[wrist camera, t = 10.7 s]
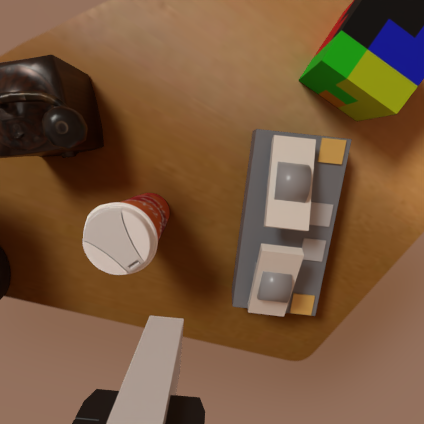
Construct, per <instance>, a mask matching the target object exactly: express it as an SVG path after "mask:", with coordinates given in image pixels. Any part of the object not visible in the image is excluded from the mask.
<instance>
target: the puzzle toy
mask: <svg viewBox="0 0 424 424" xmlns="http://www.w3.org/2000/svg"><path fill="white" fill-rule="evenodd" d="M423 79H424V0H354V1H353V2H352V3H351V4H350V5H349V6H348V8H347V9H346V10H345V11H344V12H343V14H342V15H341V17H340V18H339V20H338V21H337V23H336V24H335V26H334V28H333V29H332V31H331V32H330V34H329V35H328V37H327V38H326V40H325V41H324V43H323V44H322V46H321V47H320V49H319V50H318V52H317V53H316V55H315V56H314V58H313V59H312V61H311V62H310V64H309V65H308V67H307V68H306V70H305V71H304V73H303V74H302V76H301V77H300V79H299V81H300V82H301V83H303V84H304V85H306V86H307V87H309V88H310V89H311V90H313V91H314V92H316V93H317V94H318V95H320V96H321V97H323V98H324V99H326V100H327V101H328V102H330V103H331V104H333V105H334V106H336V107H337V108H338V109H340V110H341V111H343V112H344V113H345V114H347V115H348V116H350V117H351V118H353V119H354V120H355V121H361V120H367V119H372V118H378V117H384V116H389V115H395V114H397V113H398V112H399V110H400V109H401V108H402V107H403V105H404V104H405V103H406V101H407V100H408V99H409V97H410V96H411V95H412V93H413V92H414V91H415V89H416V88H417V87H418V85H419V84H420V83H421V81H422V80H423Z"/></svg>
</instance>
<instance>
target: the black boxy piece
mask: <svg viewBox="0 0 424 424" xmlns="http://www.w3.org/2000/svg"><path fill="white" fill-rule="evenodd" d="M103 146H104V145H103V134H102V126H101V121H100V116H99V111H98V107H97V102H96V97H95V93H94V91H93V88H92V85H91V82H90V79H89V76H88V74H85V73H84V72H82V71H80V70H79V69H77V68H75V67H73V66H72V65H70V64H68V63H66V62H64V61H63V60H61V59H59V58H57V57H55V56H53V55H47V56H41V57H36V58H29V59H23V60H16V61H9V62H2V63H0V158H7V157H23V156H39V157H44V156H62V157H63V158H65V157H73V156H76V154H77V153H79V152H83V151H89V150H94V149H97V148H100V147H103Z"/></svg>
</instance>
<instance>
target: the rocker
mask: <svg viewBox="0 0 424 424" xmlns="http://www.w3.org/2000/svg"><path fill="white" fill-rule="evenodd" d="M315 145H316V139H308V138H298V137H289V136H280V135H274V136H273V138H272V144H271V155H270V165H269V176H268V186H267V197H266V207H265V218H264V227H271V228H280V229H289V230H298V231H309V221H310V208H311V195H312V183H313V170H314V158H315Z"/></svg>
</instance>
